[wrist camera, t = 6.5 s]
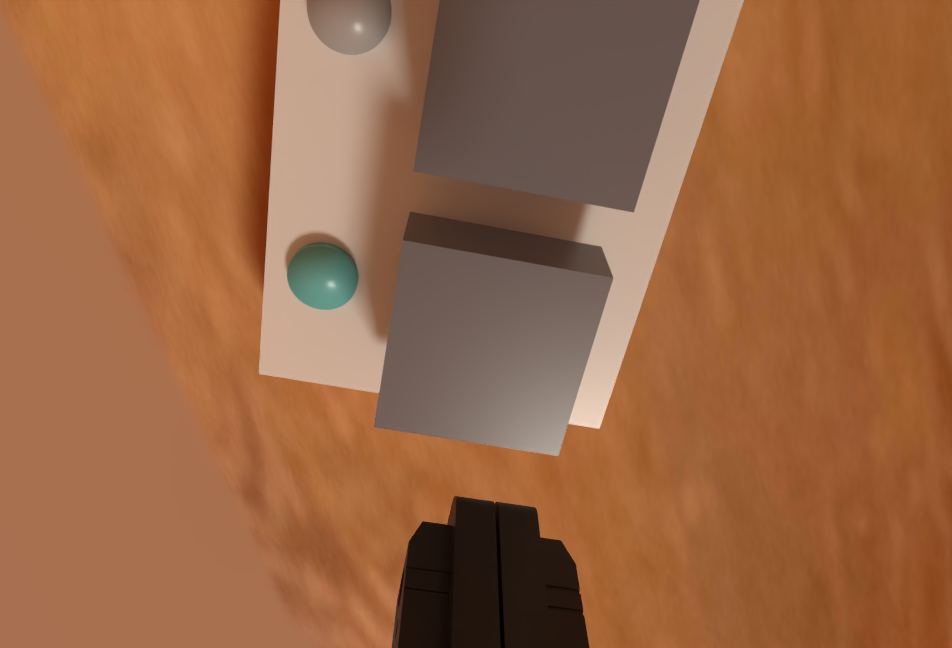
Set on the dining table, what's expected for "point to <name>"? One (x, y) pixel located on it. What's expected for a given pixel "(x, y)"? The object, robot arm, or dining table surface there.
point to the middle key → (551, 94)
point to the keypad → (426, 190)
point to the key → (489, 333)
